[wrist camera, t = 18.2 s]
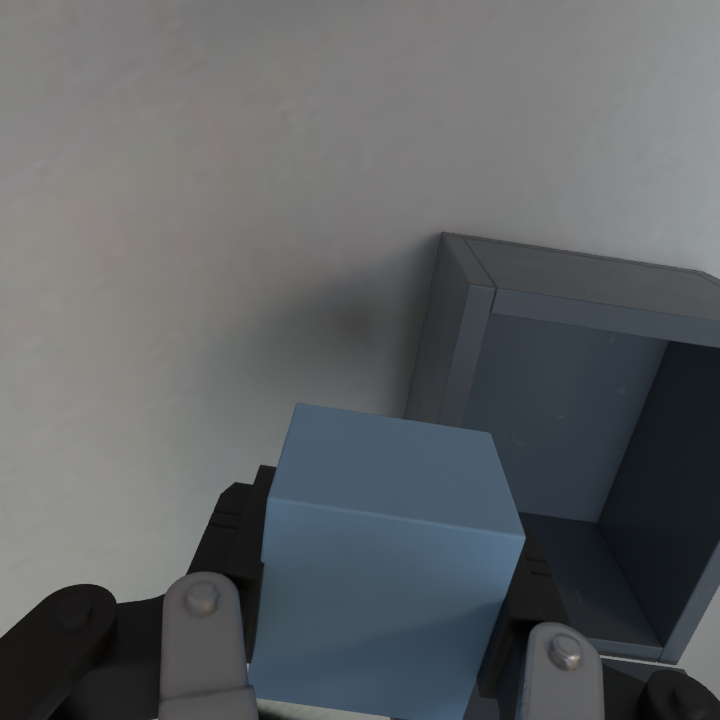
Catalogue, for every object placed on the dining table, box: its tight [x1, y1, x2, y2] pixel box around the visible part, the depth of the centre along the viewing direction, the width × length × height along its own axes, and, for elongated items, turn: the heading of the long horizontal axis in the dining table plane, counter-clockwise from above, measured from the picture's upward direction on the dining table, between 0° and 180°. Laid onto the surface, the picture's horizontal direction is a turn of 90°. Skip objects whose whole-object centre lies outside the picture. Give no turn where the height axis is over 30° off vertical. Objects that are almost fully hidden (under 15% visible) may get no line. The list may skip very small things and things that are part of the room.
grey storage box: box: [404, 232, 720, 665], centre depth 28 cm, size 17×14×10 cm
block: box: [248, 403, 526, 720], centre depth 12 cm, size 5×5×4 cm
